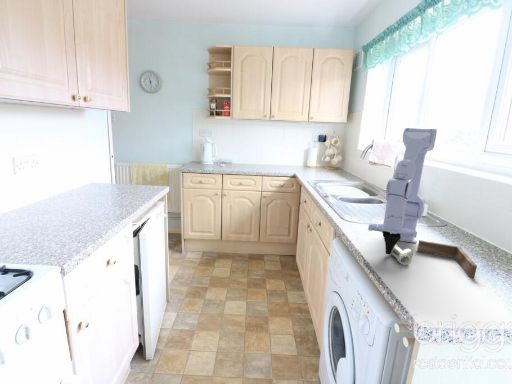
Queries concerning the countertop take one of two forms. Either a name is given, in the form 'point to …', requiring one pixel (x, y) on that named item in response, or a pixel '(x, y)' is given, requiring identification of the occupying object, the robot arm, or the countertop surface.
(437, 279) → the countertop surface
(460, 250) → the corner arena
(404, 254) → the pipe fitting
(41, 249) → the countertop surface
